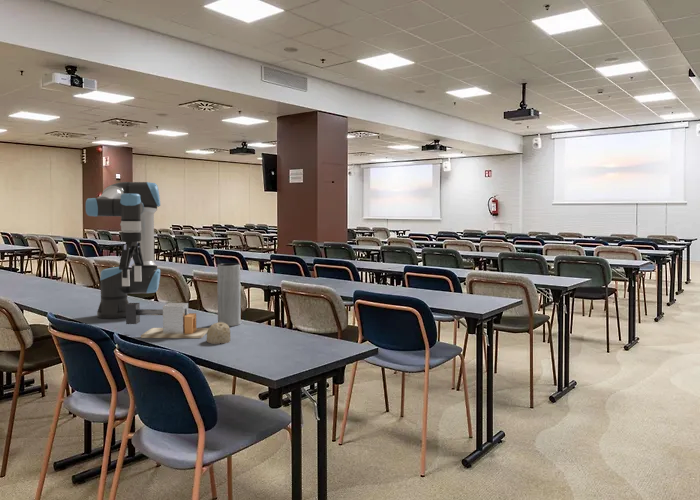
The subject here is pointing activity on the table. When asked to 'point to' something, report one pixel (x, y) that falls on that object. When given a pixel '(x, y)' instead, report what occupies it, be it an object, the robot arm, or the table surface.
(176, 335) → the board
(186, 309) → the grey upright block
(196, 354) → the table surface
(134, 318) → the shaft
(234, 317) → the vase
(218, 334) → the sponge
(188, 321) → the block
